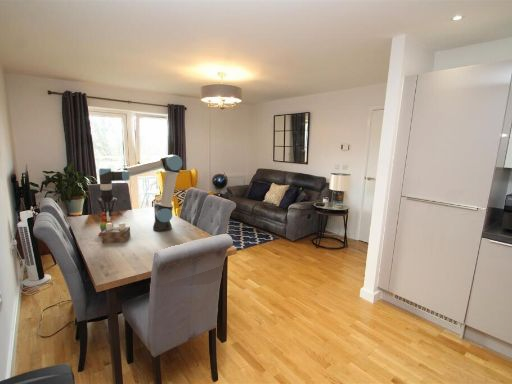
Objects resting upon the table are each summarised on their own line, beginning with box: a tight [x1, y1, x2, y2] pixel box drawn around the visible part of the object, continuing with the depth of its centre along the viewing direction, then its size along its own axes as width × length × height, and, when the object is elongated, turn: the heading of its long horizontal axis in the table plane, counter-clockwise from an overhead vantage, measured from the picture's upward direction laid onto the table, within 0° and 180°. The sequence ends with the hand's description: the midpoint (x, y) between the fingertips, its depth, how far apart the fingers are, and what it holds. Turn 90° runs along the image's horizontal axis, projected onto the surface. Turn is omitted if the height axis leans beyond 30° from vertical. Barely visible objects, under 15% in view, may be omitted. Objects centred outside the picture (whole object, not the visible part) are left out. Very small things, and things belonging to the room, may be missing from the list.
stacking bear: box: [98, 212, 114, 237], centre depth 210 cm, size 11×10×18 cm
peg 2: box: [118, 222, 126, 230], centre depth 198 cm, size 4×4×8 cm
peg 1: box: [106, 223, 114, 231], centre depth 197 cm, size 4×4×8 cm
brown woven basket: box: [100, 226, 131, 244], centre depth 198 cm, size 16×12×8 cm
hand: (108, 220), depth 196 cm, fingers closed
